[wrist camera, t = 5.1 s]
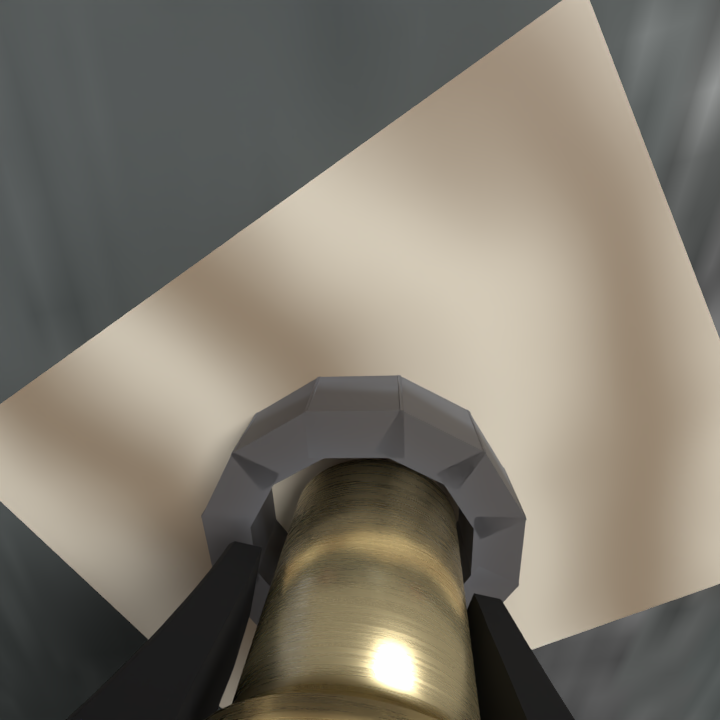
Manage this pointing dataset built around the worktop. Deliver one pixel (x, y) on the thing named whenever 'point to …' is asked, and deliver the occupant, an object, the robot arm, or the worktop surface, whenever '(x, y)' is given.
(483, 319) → the plate
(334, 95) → the worktop surface
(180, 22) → the worktop surface
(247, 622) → the robot arm
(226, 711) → the knob
